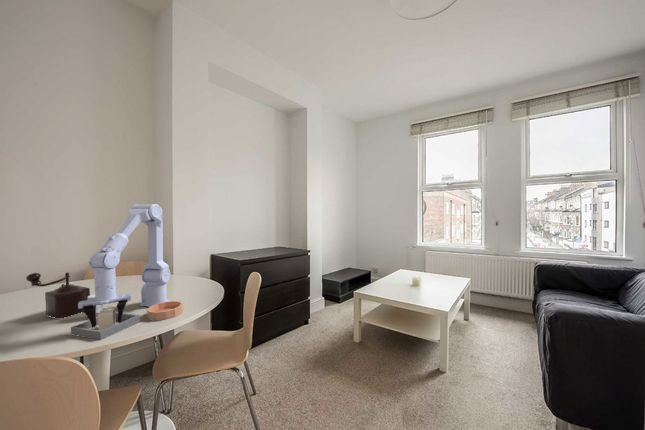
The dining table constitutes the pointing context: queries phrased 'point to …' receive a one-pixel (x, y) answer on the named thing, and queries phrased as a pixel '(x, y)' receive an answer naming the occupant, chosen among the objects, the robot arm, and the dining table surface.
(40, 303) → the dining table surface
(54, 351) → the dining table surface
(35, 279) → the manual coffee grinder
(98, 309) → the pill bottle
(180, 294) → the dining table surface
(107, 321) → the sandstone block
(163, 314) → the bowl
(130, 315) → the tray
